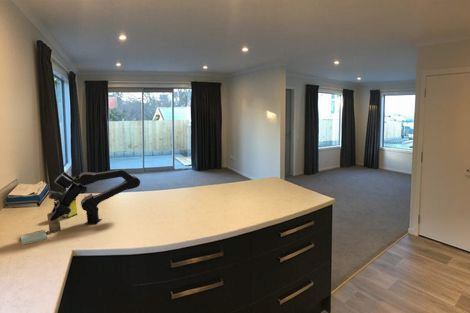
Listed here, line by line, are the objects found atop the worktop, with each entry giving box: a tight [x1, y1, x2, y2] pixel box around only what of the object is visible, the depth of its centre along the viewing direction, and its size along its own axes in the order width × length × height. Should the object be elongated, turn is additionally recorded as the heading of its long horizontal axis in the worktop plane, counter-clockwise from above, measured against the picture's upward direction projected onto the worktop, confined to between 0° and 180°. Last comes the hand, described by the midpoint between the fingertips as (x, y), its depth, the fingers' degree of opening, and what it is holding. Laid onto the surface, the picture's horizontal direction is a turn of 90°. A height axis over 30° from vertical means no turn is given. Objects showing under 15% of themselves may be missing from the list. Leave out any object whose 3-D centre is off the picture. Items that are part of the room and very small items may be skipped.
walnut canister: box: [46, 211, 62, 233], centre depth 157 cm, size 5×5×9 cm
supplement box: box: [61, 199, 78, 219], centre depth 178 cm, size 6×6×11 cm
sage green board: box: [20, 230, 48, 246], centre depth 149 cm, size 10×10×1 cm
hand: (50, 218), depth 156 cm, fingers open, 6 cm apart
